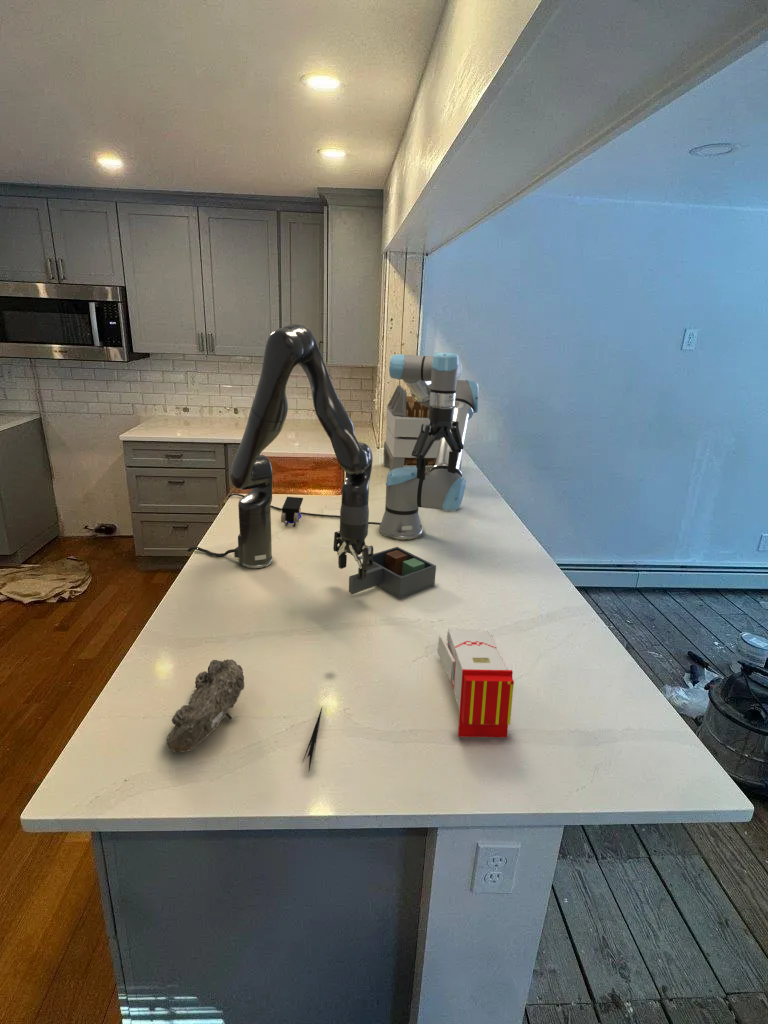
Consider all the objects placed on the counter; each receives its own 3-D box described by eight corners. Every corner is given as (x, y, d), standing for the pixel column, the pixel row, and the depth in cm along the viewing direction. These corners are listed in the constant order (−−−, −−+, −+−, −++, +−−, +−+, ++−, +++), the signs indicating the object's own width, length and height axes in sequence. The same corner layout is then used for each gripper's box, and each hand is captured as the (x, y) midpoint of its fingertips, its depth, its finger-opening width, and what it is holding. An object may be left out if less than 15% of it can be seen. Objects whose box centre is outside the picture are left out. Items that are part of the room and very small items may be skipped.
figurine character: (299, 532, 200) (304, 513, 214) (298, 513, 197) (303, 495, 210) (280, 532, 200) (286, 513, 213) (279, 512, 197) (285, 494, 210)
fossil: (192, 660, 117) (244, 628, 112) (224, 691, 120) (276, 661, 115) (142, 746, 98) (202, 712, 93) (182, 779, 101) (242, 748, 96)
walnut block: (384, 571, 169) (385, 553, 167) (396, 568, 172) (397, 549, 170) (394, 577, 166) (395, 558, 164) (406, 573, 169) (407, 554, 166)
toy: (488, 613, 130) (523, 677, 101) (484, 667, 133) (517, 744, 104) (435, 612, 130) (455, 676, 101) (432, 666, 133) (451, 743, 103)
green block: (401, 580, 164) (402, 561, 162) (412, 576, 167) (414, 557, 165) (412, 586, 161) (413, 567, 159) (423, 582, 164) (424, 563, 162)
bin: (332, 586, 160) (332, 566, 158) (396, 565, 175) (397, 546, 173) (369, 610, 149) (370, 589, 146) (434, 585, 164) (436, 565, 162)
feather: (331, 679, 122) (336, 673, 122) (307, 777, 96) (313, 769, 95) (324, 675, 122) (329, 669, 121) (298, 772, 95) (304, 764, 95)
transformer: (382, 463, 289) (386, 382, 275) (445, 464, 293) (451, 384, 279) (390, 482, 257) (394, 392, 243) (460, 483, 261) (468, 394, 247)
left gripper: (326, 513, 152) (325, 567, 158) (360, 530, 142) (357, 587, 148) (348, 507, 157) (346, 560, 163) (382, 524, 147) (379, 579, 153)
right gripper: (420, 412, 157) (415, 485, 165) (479, 405, 173) (472, 472, 180) (402, 407, 163) (398, 478, 170) (460, 401, 178) (454, 467, 186)
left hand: (352, 573), depth 155 cm, fingers open, 8 cm apart
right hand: (436, 475), depth 175 cm, fingers open, 13 cm apart
